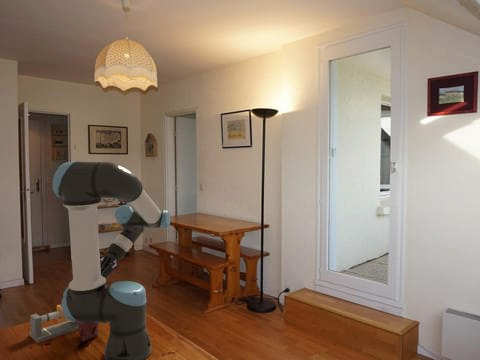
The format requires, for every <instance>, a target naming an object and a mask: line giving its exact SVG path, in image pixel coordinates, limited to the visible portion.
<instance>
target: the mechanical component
mask: <svg viewBox="0 0 480 360" xmlns="http://www.w3.org/2000/svg"><path fill="white" fill-rule="evenodd" d="M74 323H75V324H77V325H78V328H79V329H78V331H77V335H78V336H79V337H80V338H81V341H82V342H86V341H88V340H90V339H93V338H97V337H99V333H100V332H99V324H100V323H93V322H83V323H81V322H77V321H74Z"/></svg>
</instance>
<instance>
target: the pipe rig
mask: <svg viewBox="0 0 480 360" xmlns="http://www.w3.org/2000/svg"><path fill="white" fill-rule="evenodd" d="M59 317H61V311H57V310H56V311H54V312H49V313H45V314H44V315H43V314H42V315H39V314H38V313H34V314H30V331H29V337H30V338H31V339H32V340H34V342H35V343H41V342H45V341H48V340H50V339H53V338H57V337H60V336H63V335H65V334H69V333H71V332H74V331H77V330H78V329H79V328H78V325H77V324H75V323H73V322H72V321H70V320H69V319H68V320H66V322H63V323H62V322H59V323H56V324H53V325H50V326H46V327H42V323H45V322H50V321H52V320H55V319H56V320H57V318H59Z"/></svg>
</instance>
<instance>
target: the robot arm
mask: <svg viewBox="0 0 480 360" xmlns="http://www.w3.org/2000/svg"><path fill="white" fill-rule="evenodd" d="M52 190H53V192H54V194H55V196H56V197H58V198H60V199H62V206H63V207H64V208H66V209H67V211H68V222H69V223H68V224H69V225H68V226H69V237H70V239H69V240H70V251H71V265H72V280H71V281H70V282H69V284H68V287H67V288H66V289H65V290H64V292H63V295H62V297H63V298H62V300H61V306H62V310H63V313H64V315H65V317H66V318H67V319H68V321H69V320H70V321H77V322H81V323H83V322H93V323H99V324H109V335H108V338H107V342H106V344H105V348H104V360H146V359H147V358H148V357H149V356H150V355H151V353H152V342H151V338H150V335H149V333H148V329H147V302H148V301H147V293H146V288H145V286H144V285H142V284H141V283H138V282H136V281H131V280H130V281H129V280H123V281H121V280H120V281H115V282H113V283H111V285H110V286H107V279H106V278H107V277H108V276H109V275H111V274H112V272H113V271H114V270H115V269H116V268H118V267H119V265H118V264H117V263H118V261H119V260H121V261H122V259H123V258H124V257H125V256H126V254H127V252H129V250H130V249H131V247H132V246H133V245H134V244H135V242H136V241H137V240H138V239H139V237H140V236H141V235H142V234H143V233H144V231H145V230H146V229H167V228H169V226H170V224H171V212H170V211H169V210H166V209H165V210H164V209H160V208H159V206H158V205H156V203H155V202H154V200H153V199H152V198H151V197H150V196H149V194H148V192H146V191H145V190H144V184H143V183H142V181H141V180H140V179H139V177H138V176H137V175H136V174H135V173H134V172H132V171H130V170H129V169H127V168H126V167H124V166H122V165H120V164H118V163H115V162H112V161H111V162H109V161H78V160H77V161H69V162H68V161H67V162H64V163H62V164H61V165H60V166H58V168H57V170H56V171H55V173H54V175H53V179H52ZM102 199H113V200H114V199H115V200H117V201H119V202H121V203H123V205H119V206H118V207H117V208H116V210H115V211H114V217H115V220H116V222H117V223H118V225H119V226H120V228H121V229H122V230H121V231H120V233H119V234H118V235H116V237H115V239H114V240H113V242H112V243H111V244H110V245H109V246H108V247H107V249H106V250H107V253H106V254H104V256H103V257H101V254H100V238H99V220H98V207H99V205H100V204H101V203H102Z"/></svg>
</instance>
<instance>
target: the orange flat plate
mask: <svg viewBox="0 0 480 360" xmlns="http://www.w3.org/2000/svg"><path fill="white" fill-rule="evenodd" d="M57 311H61V317H59V318H56V320H58V321H59V322H60V323H63V322H66V321H67V320H66V317H65V315H64V313H63V310H62V304H58V305H56V312H57Z"/></svg>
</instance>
